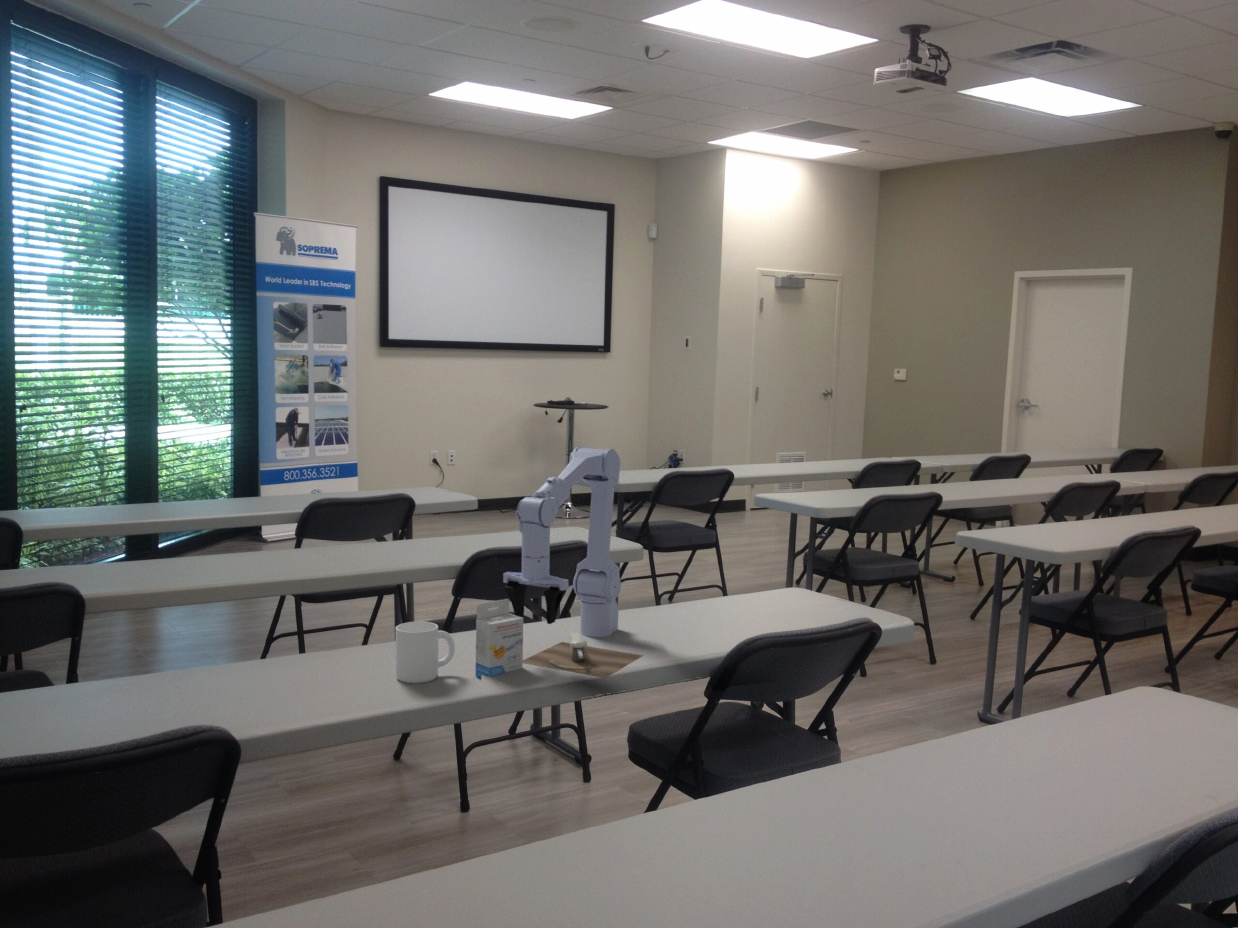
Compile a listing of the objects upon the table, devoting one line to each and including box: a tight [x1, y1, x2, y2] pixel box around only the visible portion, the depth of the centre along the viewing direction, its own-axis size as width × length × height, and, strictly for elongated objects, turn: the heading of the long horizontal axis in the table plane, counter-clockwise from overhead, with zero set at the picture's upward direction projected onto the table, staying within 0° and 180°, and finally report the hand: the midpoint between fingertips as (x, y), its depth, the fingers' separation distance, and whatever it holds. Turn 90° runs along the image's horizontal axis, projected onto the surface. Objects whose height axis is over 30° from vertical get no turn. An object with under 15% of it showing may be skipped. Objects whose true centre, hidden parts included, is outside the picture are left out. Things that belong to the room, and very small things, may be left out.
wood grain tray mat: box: [522, 641, 644, 679], centre depth 207 cm, size 18×20×1 cm
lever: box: [569, 632, 588, 662], centre depth 207 cm, size 15×4×4 cm, turn 8°
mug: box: [395, 621, 456, 684], centre depth 197 cm, size 12×8×10 cm
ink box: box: [475, 598, 524, 679], centre depth 198 cm, size 8×5×15 cm, turn 135°
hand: (535, 620), depth 204 cm, fingers open, 7 cm apart
